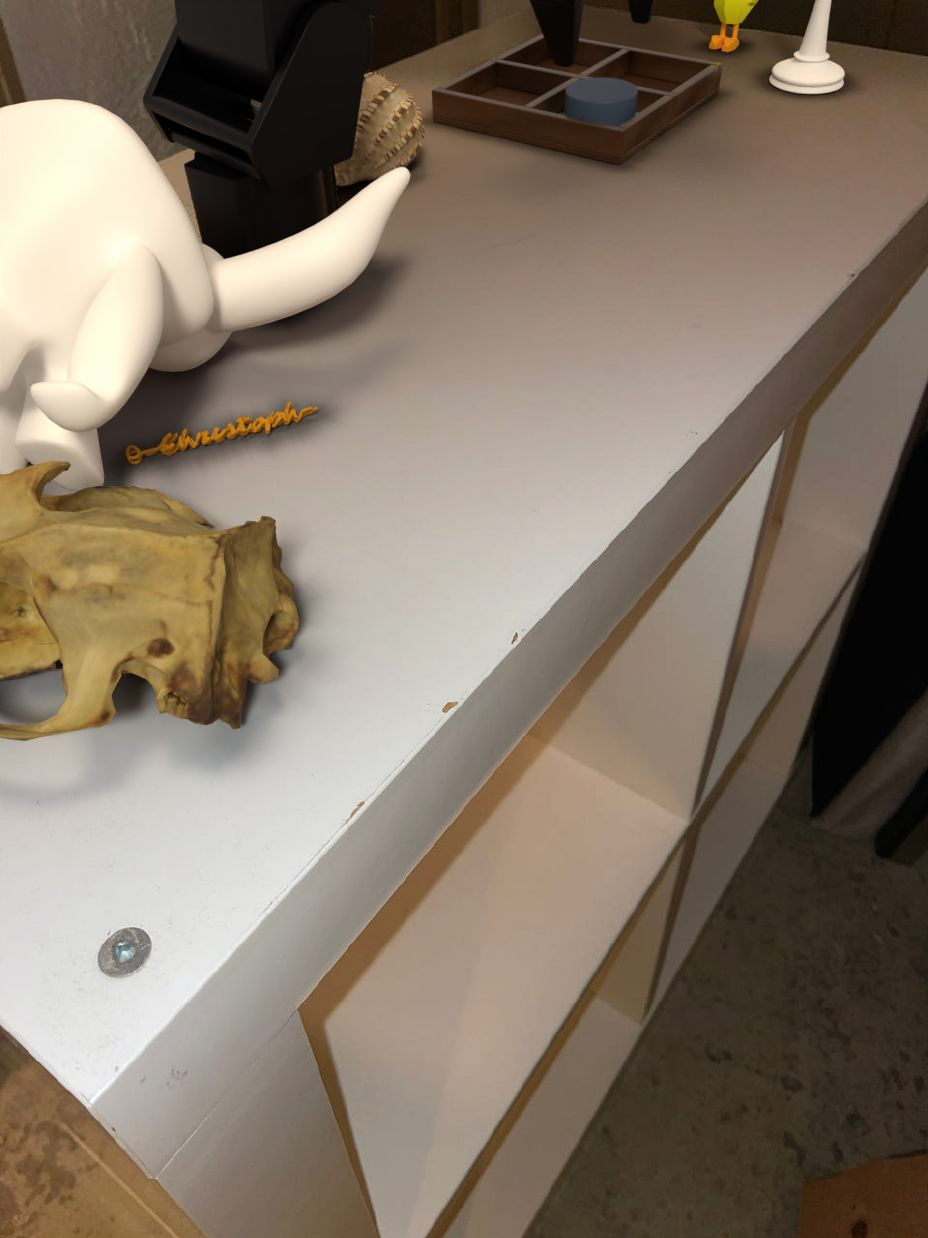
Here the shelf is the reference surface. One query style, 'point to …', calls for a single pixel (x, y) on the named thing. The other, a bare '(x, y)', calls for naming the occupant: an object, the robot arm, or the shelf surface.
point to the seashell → (382, 132)
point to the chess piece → (810, 60)
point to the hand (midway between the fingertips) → (604, 42)
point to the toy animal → (129, 278)
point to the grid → (535, 97)
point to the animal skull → (135, 600)
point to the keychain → (218, 437)
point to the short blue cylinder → (601, 100)
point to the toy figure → (730, 21)
